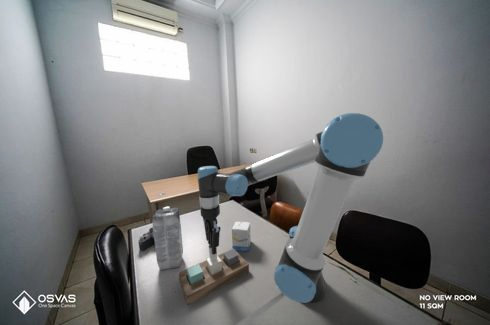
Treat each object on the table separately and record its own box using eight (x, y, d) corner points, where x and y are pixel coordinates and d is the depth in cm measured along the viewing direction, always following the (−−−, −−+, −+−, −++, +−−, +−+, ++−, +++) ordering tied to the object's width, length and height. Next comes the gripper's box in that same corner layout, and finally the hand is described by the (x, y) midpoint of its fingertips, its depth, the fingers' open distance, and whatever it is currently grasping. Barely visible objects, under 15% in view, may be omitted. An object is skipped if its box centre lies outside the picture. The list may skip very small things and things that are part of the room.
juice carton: (181, 268, 78) (176, 211, 74) (156, 272, 76) (149, 214, 72) (184, 255, 86) (179, 203, 82) (162, 258, 84) (155, 206, 80)
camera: (148, 255, 87) (146, 237, 86) (137, 251, 90) (134, 234, 89) (172, 238, 101) (170, 222, 100) (161, 235, 105) (160, 220, 103)
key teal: (203, 282, 68) (202, 271, 67) (191, 288, 65) (190, 277, 64) (199, 274, 72) (198, 263, 71) (188, 280, 69) (187, 269, 68)
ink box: (248, 251, 87) (247, 230, 86) (232, 250, 89) (231, 229, 87) (251, 241, 96) (250, 221, 94) (236, 240, 97) (235, 220, 96)
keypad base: (248, 271, 74) (248, 264, 74) (187, 304, 61) (186, 296, 60) (234, 254, 85) (233, 248, 85) (179, 279, 71) (178, 272, 71)
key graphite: (238, 265, 76) (238, 255, 75) (229, 270, 74) (228, 259, 73) (233, 259, 80) (233, 249, 79) (224, 263, 78) (223, 253, 77)
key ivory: (222, 271, 72) (221, 260, 71) (211, 276, 69) (210, 265, 69) (217, 264, 76) (216, 254, 75) (207, 269, 73) (206, 258, 73)
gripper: (225, 208, 65) (228, 264, 68) (212, 198, 76) (215, 247, 79) (206, 213, 61) (210, 273, 64) (195, 202, 72) (199, 254, 75)
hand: (213, 259), depth 72 cm, fingers closed, pressing on key ivory
